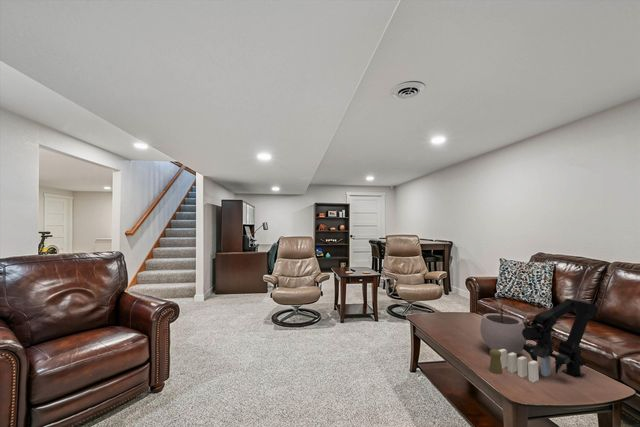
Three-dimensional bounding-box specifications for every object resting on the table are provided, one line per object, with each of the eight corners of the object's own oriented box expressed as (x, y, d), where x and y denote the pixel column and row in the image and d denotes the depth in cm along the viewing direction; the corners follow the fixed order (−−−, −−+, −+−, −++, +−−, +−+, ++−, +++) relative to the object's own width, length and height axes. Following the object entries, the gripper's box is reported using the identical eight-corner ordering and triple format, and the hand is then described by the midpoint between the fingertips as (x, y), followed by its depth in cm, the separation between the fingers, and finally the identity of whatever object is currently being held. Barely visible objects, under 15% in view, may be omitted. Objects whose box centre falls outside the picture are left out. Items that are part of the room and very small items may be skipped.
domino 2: (513, 369, 150) (512, 352, 150) (517, 370, 148) (516, 353, 148) (507, 371, 147) (507, 354, 148) (511, 373, 146) (511, 355, 146)
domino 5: (546, 372, 146) (545, 355, 146) (550, 374, 144) (550, 356, 145) (541, 374, 144) (540, 357, 144) (545, 376, 142) (545, 358, 142)
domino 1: (503, 364, 154) (503, 348, 155) (507, 366, 152) (506, 350, 153) (498, 367, 152) (497, 350, 152) (502, 368, 150) (501, 351, 151)
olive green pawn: (497, 368, 151) (496, 347, 151) (505, 373, 145) (504, 352, 145) (486, 368, 151) (486, 347, 151) (494, 374, 145) (493, 352, 145)
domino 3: (523, 373, 145) (522, 356, 146) (527, 375, 143) (526, 357, 144) (517, 375, 143) (517, 358, 143) (522, 377, 141) (521, 359, 142)
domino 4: (534, 378, 141) (533, 360, 141) (538, 380, 139) (537, 361, 139) (528, 380, 139) (528, 362, 139) (533, 382, 137) (532, 364, 137)
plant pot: (481, 341, 186) (479, 296, 187) (524, 349, 173) (523, 301, 175) (480, 355, 165) (479, 305, 166) (530, 366, 153) (528, 311, 154)
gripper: (516, 335, 150) (517, 365, 149) (558, 349, 133) (560, 382, 132) (528, 332, 155) (529, 360, 154) (569, 345, 138) (571, 376, 137)
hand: (545, 369), depth 144 cm, fingers open, 9 cm apart
